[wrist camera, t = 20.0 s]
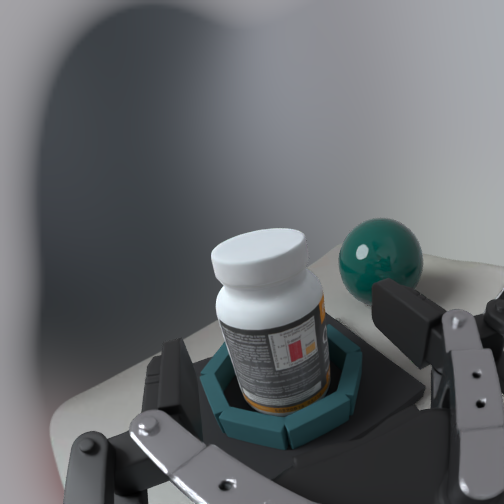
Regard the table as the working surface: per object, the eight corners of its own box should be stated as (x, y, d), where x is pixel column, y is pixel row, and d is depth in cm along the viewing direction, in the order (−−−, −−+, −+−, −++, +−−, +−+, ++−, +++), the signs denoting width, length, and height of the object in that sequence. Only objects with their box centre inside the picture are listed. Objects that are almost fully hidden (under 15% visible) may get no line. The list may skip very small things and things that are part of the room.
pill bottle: (348, 389, 16) (343, 236, 13) (268, 436, 14) (223, 281, 11) (299, 348, 21) (279, 218, 18) (230, 381, 19) (188, 247, 16)
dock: (213, 507, 11) (193, 487, 10) (173, 379, 21) (160, 351, 20) (423, 396, 15) (432, 363, 14) (325, 320, 25) (322, 291, 24)
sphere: (415, 329, 21) (421, 236, 18) (329, 318, 26) (320, 233, 23) (423, 283, 27) (425, 208, 24) (354, 278, 31) (348, 208, 29)
